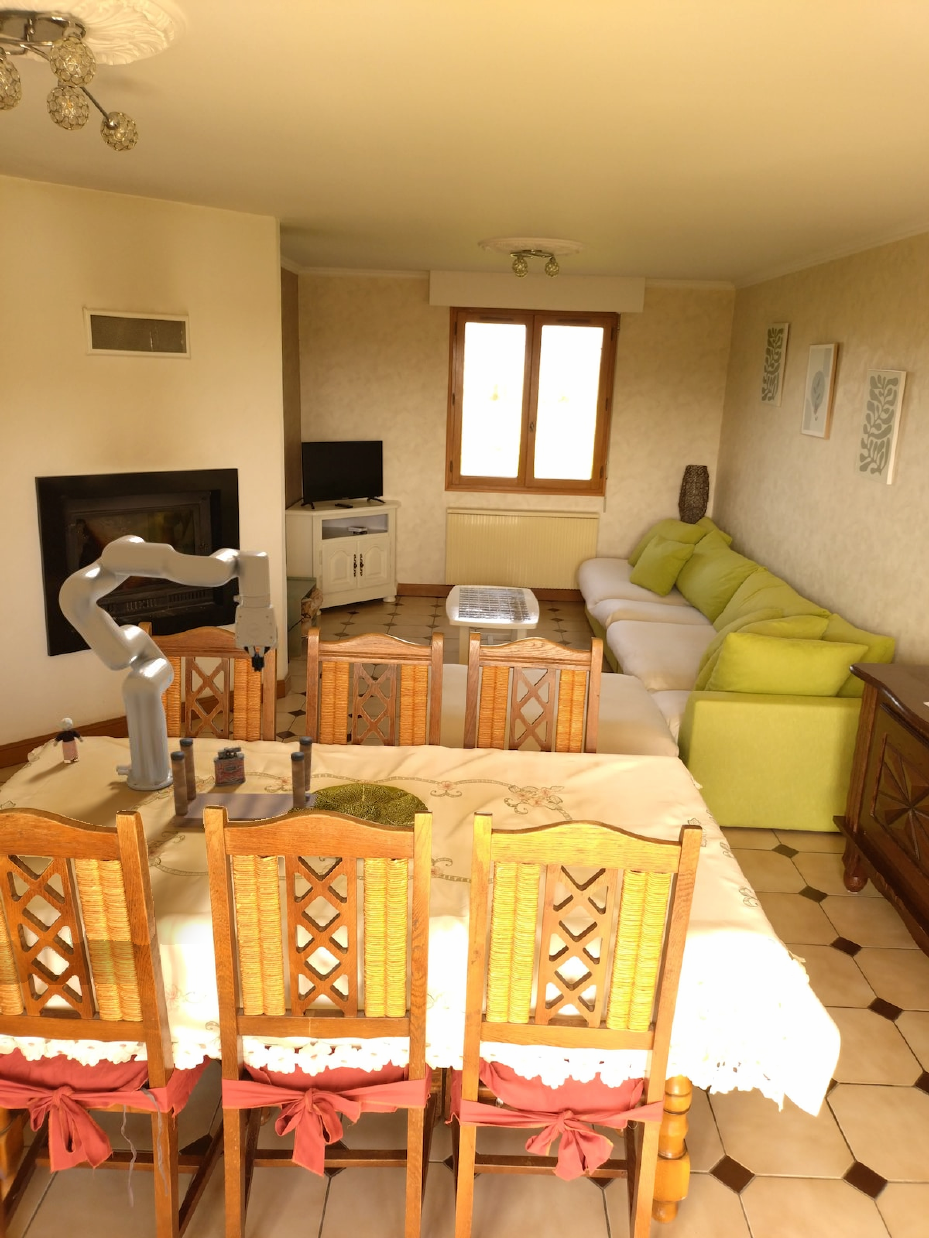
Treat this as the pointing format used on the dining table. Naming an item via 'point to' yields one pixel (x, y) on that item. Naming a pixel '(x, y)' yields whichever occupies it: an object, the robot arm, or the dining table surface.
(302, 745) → the folding leg
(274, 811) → the stool
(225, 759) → the lighter
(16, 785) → the dining table surface
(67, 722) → the grandmother figurine
